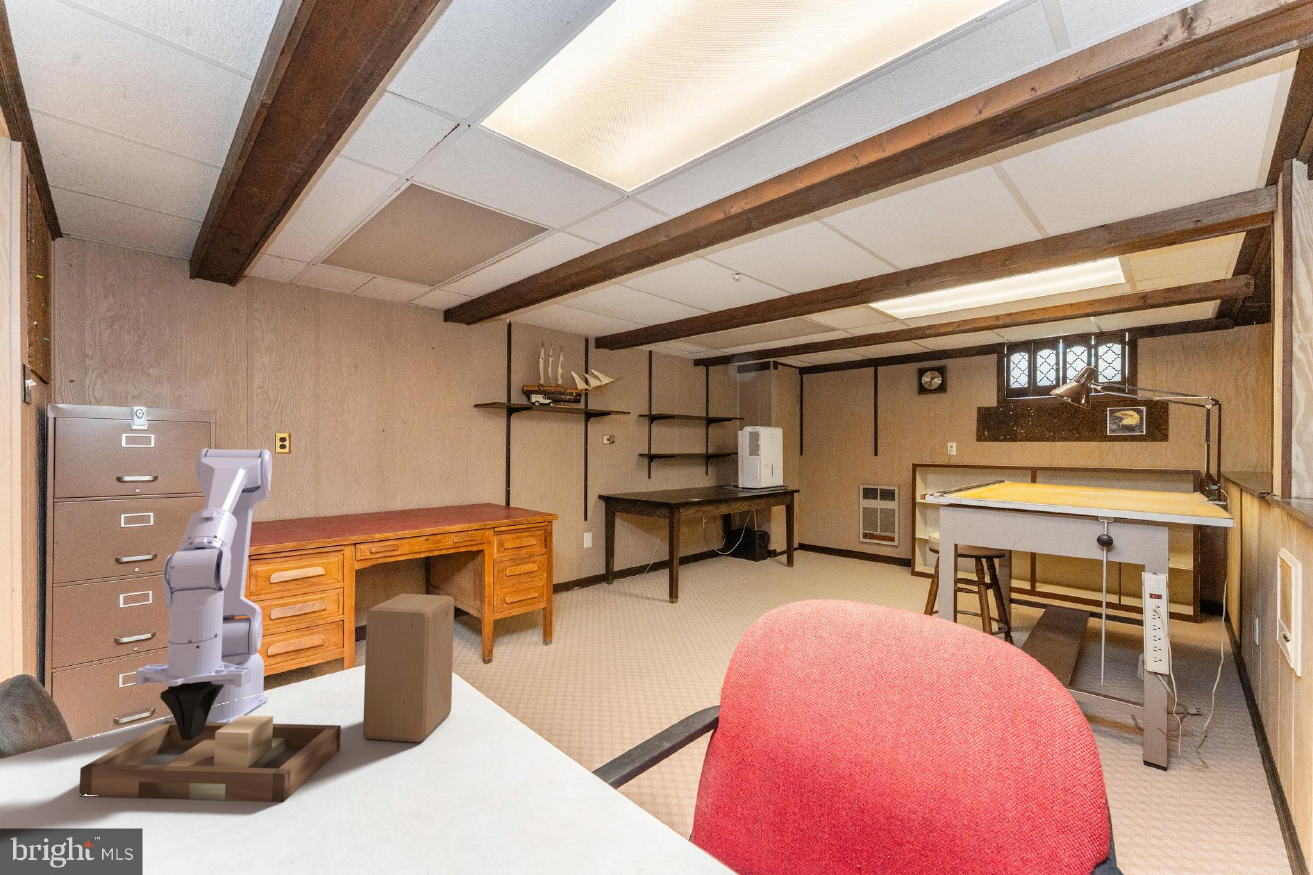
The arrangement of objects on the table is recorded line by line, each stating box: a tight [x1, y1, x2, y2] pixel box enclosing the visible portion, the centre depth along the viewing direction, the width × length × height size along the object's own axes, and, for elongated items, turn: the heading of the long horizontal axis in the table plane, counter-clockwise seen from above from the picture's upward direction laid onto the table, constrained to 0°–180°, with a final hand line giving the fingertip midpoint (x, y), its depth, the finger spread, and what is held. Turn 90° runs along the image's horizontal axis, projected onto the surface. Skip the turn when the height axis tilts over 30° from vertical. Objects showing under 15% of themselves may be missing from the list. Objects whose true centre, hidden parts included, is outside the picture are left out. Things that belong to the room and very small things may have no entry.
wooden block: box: [362, 593, 455, 743], centre depth 88 cm, size 10×10×20 cm
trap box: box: [78, 720, 342, 803], centre depth 75 cm, size 12×26×4 cm, turn 89°
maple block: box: [214, 714, 274, 767], centre depth 75 cm, size 4×4×4 cm
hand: (192, 736), depth 75 cm, fingers closed
